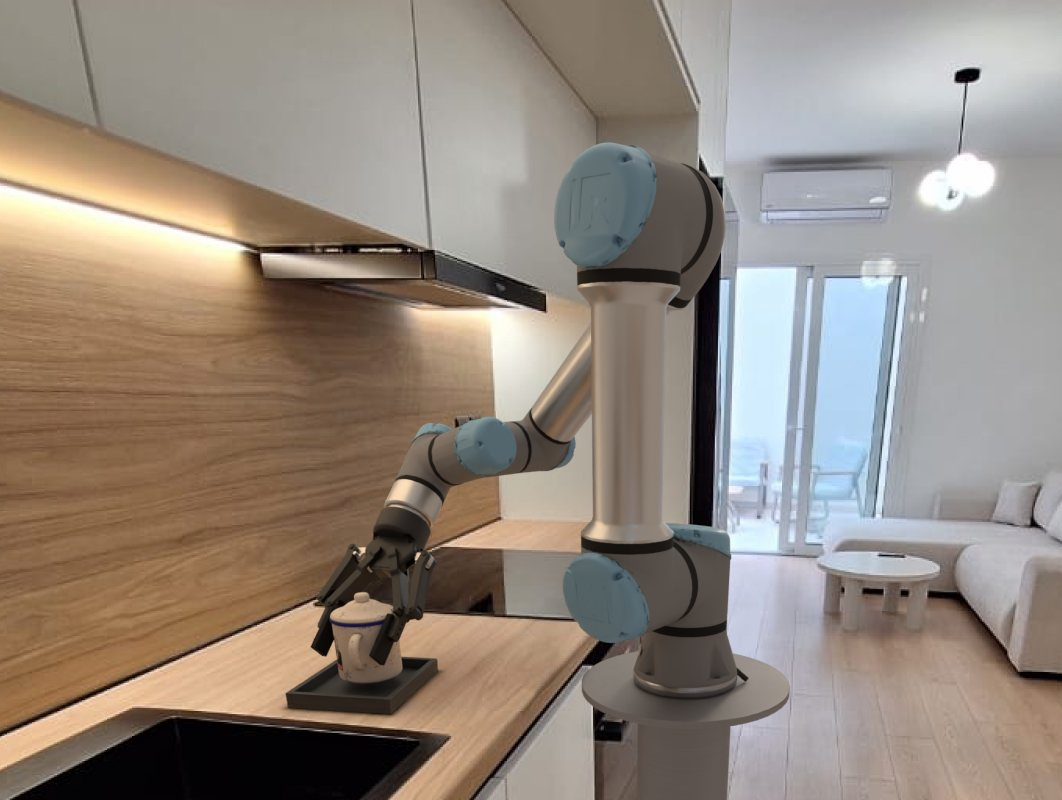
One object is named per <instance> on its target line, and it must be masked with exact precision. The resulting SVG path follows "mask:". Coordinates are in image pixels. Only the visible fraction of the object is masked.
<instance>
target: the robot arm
mask: <svg viewBox="0 0 1062 800" xmlns="http://www.w3.org/2000/svg"><path fill="white" fill-rule="evenodd" d="M726 217H727V216H726V210H725V206H724V202H723V199H722V196H721V194H720V192H719V190H718V189H717V186H716V185H715V183H713V181H712V180H711V179H710V178H709V176H707V175H706V173H704V172H703V171H701V170H699V169H698V168H696V167H694V166H691V165H689V164H686V163H684V162H683V163H681V162H679V161H678V162H677V161H675V160H672V159H669V158H666V157H663V156H661V155H658V154H655V153H653V152H649V151H647V150H645V149H644V148H643V147H640V146H637V145H635V144H634V145H633V144H629V145H628V144H627V145H626V144H625V145H624V144H620V143H616V142H601V143H598V144H595V145H593V146H590V147H589V148H587V149H585V150H584V151H582V153H580V154H579V155H578V156H577V157H576V158H575V159H574V160H573V161H572V163H571V167H570V169H569V170H568V171H566V172H565V173H564V176H563V178H562V180H561V182H560V184H559V188H558V191H557V192H556V198H555V203H554V211H553V222H554V223H553V224H554V225H553V226H554V232H555V236H556V240H557V243H558V245H559V247H561V248H562V249H563V253H564V255H565V256H566V257H567V258H568V260H570V261H571V263H573V264H574V265H575V266H576V290H577V291H578V292H579V294H580V295H581V296H582V297H583V298H584V299H585V300H586V301H587V303H588V304H589V306H590V323H589V324H588V325H587V327H586V328H585V330H584V332H583V333H582V334H581V335H580V337H579V339H578V340H577V342H576V343H575V345H574V346H573V348H572V349H571V350H570V352H569V353H568V354H567V356H566V357H565V359H564V360H563V362H561V365H560V366H559V368H558V369H557V370H556V371H555V373H554V375H553V376H552V377H551V379H550V380H549V382H548V383H547V385H546V386H545V388H544V389H543V390H542V392H541V393H540V395H539V396H538V397H537V399H536V400H535V402H534V403H533V405H532V406H531V408H530V409H529V410H528V412H527V413H526V414H525V416H524V417H523V418H522V419H521V420H512V421H511V420H510V421H502V420H500V418H497V417H496V416H495V417H494V416H485V417H481V418H478V419H475V418H474V419H471V420H468V421H467V422H466V423H463V424H462V425H459V426H457V427H455V428H452V427H451V426H448V425H446V424H443V423H437V424H436V423H433V422H427V423H425V424H423V425H422V426H420V428H419V429H418V431H417V433H416V435H415V437H414V438H413V439H412V440H411V443H410V444H409V447H408V450H407V453H406V455H405V458H404V459H403V462H402V464H401V467H400V469H399V471H398V473H397V475H396V478H395V481H394V482H393V484H392V487H391V489H390V491H389V492H388V495H387V497H386V499H385V501H384V503H383V508H382V509H381V510H380V511H379V515H378V517H377V519H376V521H375V523H374V526H373V527H372V528H373V529H372V540H370V542H369V543H368V544H367V545H366V546H361V547H360V546H357V545H356V544H355V543H350V544H349V545H348V546H347V549H346V552H345V554H344V557H343V558H342V560H341V562H339V564H338V566H337V567H336V568H335V569H334V571H333V573H332V574H331V575H330V577H329V578H328V580H327V581H326V582H325V584H324V585H323V587H322V588H321V590H320V591H319V592H318V594H317V595H316V600H317V601H318V602H319V603H320V604H321V605H322V606H323V607H324V609H323V611H322V614H321V616H320V618H319V620H318V622H317V628H318V630H317V632H316V634H315V636H314V638H313V640H312V643H311V645H310V649H312V650H313V651H315V652H316V653H318V654H319V655H320V656H321V657H325V658H326V657H328V654H329V652H330V650H331V648H332V645H333V644H334V635H333V628H332V623H331V622H330V620H329V618H330V615H331V613H332V612H333V611H334V610H336V609H338V608H340V607H343V606H345V605H346V604H347V603H349V602H351V601H353V600H354V595H355V594H356V593H361V592H364V590H365V589H366V588H367V587H368V586H369V585H370V584H371V583H375V582H377V581H378V580H379V579H380V578H385V577H388V578H390V579H391V590H392V591H391V592H392V606H393V610H392V609H391V611H392V612H393V613H394V614H395V615H394V616H393V615H392V614H389V613H387V615H386V617H385V620H384V622H383V624H382V626H381V629H380V631H379V633H378V636H377V638H376V640H375V643H374V645H373V647H372V650H371V652H370V654H369V656H370V657H371V658H372V659H373V660H375V661H376V662H377V663H378V664H379V665H385V663H386V660H387V658H388V656H389V653H390V651H391V649H392V646H393V644H394V642H398V640H399V641H400V640H401V637H402V634H403V632H404V630H405V628H406V625H407V624H408V623H409V622H410V621H413V620H416V621H421V620H423V618H424V614H425V607H426V603H427V597H428V590H429V584H430V579H431V574H432V573H433V571H434V568H435V567H436V565H437V560H436V559H435V558H434V556H432V554H431V552H429V550H426V549H425V548H426V546H427V544H428V541H429V538H430V536H431V533H432V531H431V530H432V529H434V527H435V524H436V521H437V519H438V517H439V514H440V512H441V510H442V508H443V505H444V503H445V501H446V498H447V497H448V494H449V491H450V489H451V488H453V487H456V486H460V485H463V484H466V483H469V482H473V481H476V480H480V479H485V478H493V477H502V476H510V475H515V474H527V473H534V472H535V473H536V472H550V471H553V470H556V469H560V468H563V467H565V466H567V465H568V464H569V463H570V462H571V461H572V460H573V457H574V453H575V449H576V445H577V444H576V435H577V433H579V431H580V430H581V428H582V427H583V426H584V425H585V423H586V422H587V421H588V420H589V419H590V417H591V448H592V449H591V458H592V459H591V461H592V465H591V467H592V468H591V469H592V471H591V473H592V476H591V477H592V519H591V520H590V521H589V522H588V523H587V525H585V526H584V528H582V529H581V531H580V555H578V556H575V557H574V558H573V559H572V561H570V563H569V566H567V567H566V569H565V571H564V574H563V579H562V592H563V593H562V594H563V599H564V603H565V605H566V608H567V610H568V612H569V614H570V617H571V618H572V620H574V621H575V622H577V624H578V627H579V628H580V629H581V630H582V631H583V632H584V633H585V634H587V636H590V637H591V638H593V639H594V640H597V641H599V642H602V643H608V644H614V643H615V644H617V643H621V642H625V641H631V640H636V639H638V638H640V637H642V636H643V639H642V642H640V643H639V646H638V649H637V651H638V652H639V654H638V657H637V660H636V663H635V666H634V683H635V685H636V686H637V687H638V688H639V689H641V690H643V691H645V692H647V693H649V694H652V695H656V696H660V697H665V698H671V699H686V700H691V699H705V698H712V697H716V696H720V695H723V694H726V693H728V692H730V691H731V690H733V689H734V688H735V687H736V685H737V675H738V676H739V677H740V678H741V679H742V680H744V681H745V682H746V681H747V680H748V678H749V677H747V676H746V675H745V674H744V673H743V672H741V671H740V670H739V669H738V668H737V667H736V664H735V660H734V657H733V650H732V647H731V646H732V645H731V643H730V640H729V635H728V615H729V613H728V612H729V593H730V591H729V590H730V574H731V560H732V554H731V537H730V535H729V533H728V531H726V530H724V529H722V528H719V527H714V526H707V525H698V524H689V523H677V522H676V523H675V522H665V521H664V519H663V491H664V490H663V486H664V442H665V441H664V438H665V437H664V436H665V435H664V434H665V393H666V392H665V387H666V347H667V346H666V342H667V341H666V340H667V319H668V318H669V316H670V315H671V314H672V312H673V311H674V312H675V311H683V310H685V309H686V308H687V306H688V305H689V304H690V302H691V301H692V300H693V299H694V298H695V296H696V295H697V294H698V292H699V291H700V290H701V289H702V287H703V286H704V284H705V283H706V282H707V280H708V279H709V277H710V275H711V273H712V271H713V270H714V267H715V266H716V265H717V262H718V260H719V257H720V254H721V253H722V250H723V246H724V241H725V237H726V229H727V228H726V225H727V219H726ZM413 566H414V567H413ZM412 567H413V571H412V577H411V583H410V569H411V568H412ZM368 568H369V569H368ZM371 571H372V572H371ZM409 583H410V587H409Z"/></svg>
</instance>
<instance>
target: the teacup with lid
mask: <svg viewBox="0 0 1062 800" xmlns="http://www.w3.org/2000/svg"><path fill="white" fill-rule="evenodd" d="M391 609H392V610H393V604H392V605H391V604H389V603H384V602H381V601H378V600H376V599H372V598H370V594H369V593H368V592H366V591H365V592H364V591H362V592H361V593H356V594H355V595H354V600H353V601H351V602H349V603H347V604H346V605H345V606H343V607H340V608H338V609H336V610H334V611H333V612H332V613H331V615H330V618H329V620H330V622H331V623H332V628H333V635H334V641H333V643H334V649H335V655H336V659H337V663H338V670H339V676H340V677H341V678H342V679H343V680H345V681H347V682H351V683H375V682H381V681H385V680H388V679H391V678H394V677H396V676H397V675H399V674H400V673H401V671H402V659H401V657H402V651H401V642H400V639H399V640H398V642H394V644H393V646H392V649H391V651H390V653H389V656H388V658H387V660H386V663H385V665H379V664H378V663H377V662H376V661H375V660H373V659H372V658H371V657H370V656H369V654H370V652H371V650H372V647H373V645H374V643H375V640H376V638H377V636H378V633H379V631H380V629H381V626H382V624H383V622H384V620H385V617H386V615H387V613H389V614H392V615H393V616H394V615H395V614H394V613H393V612H392V611H391Z"/></svg>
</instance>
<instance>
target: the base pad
mask: <svg viewBox="0 0 1062 800" xmlns="http://www.w3.org/2000/svg"><path fill="white" fill-rule="evenodd" d="M401 659H402V671H401V673H400V674H399V675H397V676H396V677H394V678H391V679H388V680H385V681H381V682H375V683H351V682H347V681H345V680H343V679H342V678H341V677H340V676H339V670H338V663H337V658H336V659H334V660H333V661H332V662H330V663H329V664H327V665H326V666H325V667H323V668H321V669H320V670H318V671H317V672H315V673H314V674H312V675H310V676H309V677H308V678H306V679H305V680H303V681H301V682H300V683H298V684H297V685H296V686H294V687H293V688H291V689H290V690H288V691H286V692H285V699H286V706H287V708H288V709H302V710H318V711H319V710H320V711H335V712H350V713H365V714H366V713H367V714H381V715H382V714H383V715H392V714H394V712H395V711H397V709H398V708H400V707H401V706H402V705H403V704H404V703H406V702H407V701H408V700H409V699H410V698H411V697H412V696H413V695H414V694H415V693H417V692H418V690H420V689H421V688H422V687H423V686H424V685H426V683H427V682H429V681H430V680H431V679H432V678H433V677H434V676H435V675H436V674H437V673H438V672H439V665H438V658H435V657H418V656H417V657H415V656H401Z"/></svg>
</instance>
